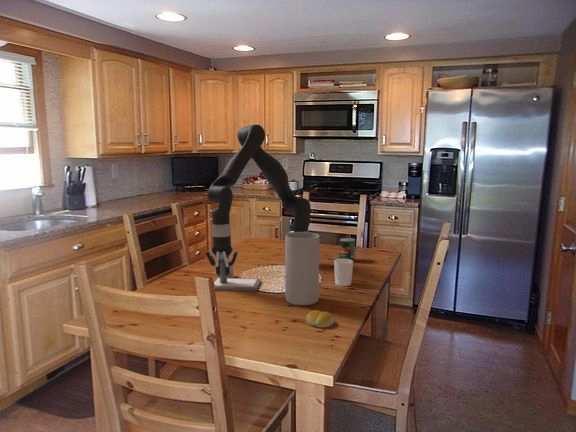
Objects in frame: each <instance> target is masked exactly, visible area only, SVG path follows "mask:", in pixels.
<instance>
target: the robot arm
mask: <svg viewBox="0 0 576 432" xmlns="http://www.w3.org/2000/svg"><path fill="white" fill-rule="evenodd" d="M236 133H237V140H238V143H239V144H240V146H241V148H240V149H239V150H238V151H237V152H236V153H235V154H234V155H233V157H232V158H230V160H229V161H228V162H227V163H226V165H225V167H224V169H223V170H222V172H221V174H220V175H219V176H218V177H217V178H216V179H215V180H214V181H213V182H212V184H210V186H209V187H208V190H207V193H206V195H207V197H206V198H207V199H208V201H209V202H211V203H213V204H214V203H215V204H218V208H215V209H213V210H212V212H211V221H212V223H211V224H212V225H211V236H212V249H211V250H208V251H206V252H205V255H206V257H207V259H208V261H209V263H210V265H211V266H215V274H216V275H217V276H218V277H220V273H219V255H220V252H223V256H224V261H225V264H226V276H228V275H229V274H230V266H232V265H233V264H234V265H235V262H236V260H237V257H238V255H239V251H238V250H237V251H236V250H234V249H233V247H232V231H231V224H230V220H231V219H230V213H231V209H232V205H233V197H234V195H233V194H234V193H233V192H232V188H230V187H234V186H235V185H236V184H237V182H238V180H239V178H240V177H241V175H242V172H243V171H244V169H245V168H246V166H247V164H248V163H249V161H250V160H251V159H252V160H253V162H254V163H255V164H256V166H257V167H258V168H259V170H260V171H261V172H262V174H263V175H264V177H265V179H266V181H268V183H269V184H270V185H271V187H272V188H273V190H274V192H275V193H276V194H277V196H278V198H279V200H280V201H281V203H282V204H283V205H282V206H284V209H285V210H286V211H287V213H288V214H289V215H291V216H293V217H294V221H293V222H291V223H290V224H289V226H288V233H294V232H309V226H310V224H311V212H312V211H311V209H312V208H311V204H310V201H309V199H307V198H305V197H299V196H297V195H296V194H295V193H294V191H293V190H292V189H291V187H290V181H289V177H288V174H287V171H286V169H285V168H284V167H283V164H282V163H281V162H280V161H279V160H277V159H276V158H275V157H273V156H272V155H271V154H269V153H267V152H266V151H265V150H264V148H263V147H261V146H262V144H264V142H265V140H266V132H265V129H264V127H263V126H261V125H260V124H257V123H256V124H250V125H246V126H243V127H241V128H239V129H238V130H237V132H236ZM213 255H214V256H215V259H214V257H213ZM230 255H231V256H232V258H231V262H229V260H230V257H229V256H230Z"/></svg>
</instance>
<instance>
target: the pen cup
mask: <svg viewBox="0 0 576 432" xmlns="http://www.w3.org/2000/svg"><path fill="white" fill-rule="evenodd" d="M231 260H232V259H231ZM231 260H230V259H229V262H231ZM227 278H235V263H234V264H233V265H232V266H230V274H229V275H228V276H227Z"/></svg>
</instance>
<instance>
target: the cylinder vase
mask: <svg viewBox="0 0 576 432" xmlns="http://www.w3.org/2000/svg"><path fill="white" fill-rule="evenodd" d="M284 239H285V240H284V241H285V245H284V246H285V251H284V252H285V255H284V256H285V258H284V260H285V261H284V262H285V264H284V266H285V271H284V272H285V275H284V276H285V277H284V278H285V282H284V284H285V285H284V286H285V291H284V293H285V301H286V302H287V303H288V304H291V305H294V306H302V307H303V306H304V307H305V306H311V305H315V304H316V303H318V301H319V298H320V297H319V295H320V293H319V291H320V289H319V288H320V287H319V286H320V284H319V283H320V280H319V279H320V234H318V233H315V232H309V231H308V232H294V233H289V232H288V233H286V234H285V237H284Z"/></svg>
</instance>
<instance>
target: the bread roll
mask: <svg viewBox="0 0 576 432" xmlns="http://www.w3.org/2000/svg"><path fill="white" fill-rule="evenodd" d="M305 319H306V323H307V325H308V326H311V327H316V328H321V329H322V328H329V327H331V326H332V325H334V323H335V318H334V315H332V314H331V313H330V312H328V311H322V310H321V311H320V310H318V309H316V310H312V311H309V312H308V313H307V315H306V318H305Z"/></svg>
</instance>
